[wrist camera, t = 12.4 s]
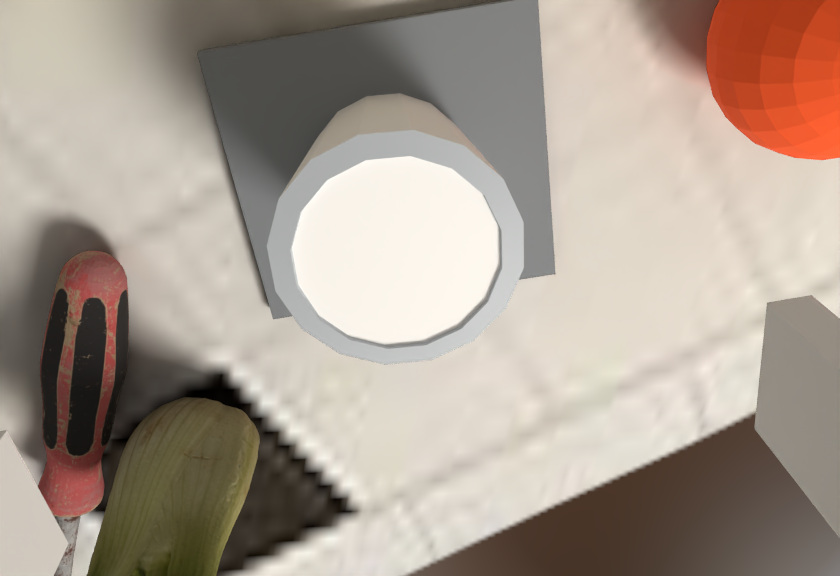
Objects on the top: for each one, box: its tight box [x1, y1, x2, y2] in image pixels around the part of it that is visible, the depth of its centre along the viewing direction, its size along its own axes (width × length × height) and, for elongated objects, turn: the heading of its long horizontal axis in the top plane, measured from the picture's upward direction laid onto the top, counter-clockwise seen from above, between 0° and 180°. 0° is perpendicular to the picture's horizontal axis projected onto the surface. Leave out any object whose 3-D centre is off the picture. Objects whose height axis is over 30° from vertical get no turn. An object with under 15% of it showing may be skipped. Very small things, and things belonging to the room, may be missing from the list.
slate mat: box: [197, 0, 555, 319], centre depth 25 cm, size 11×10×1 cm
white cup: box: [267, 93, 524, 365], centre depth 22 cm, size 7×7×7 cm
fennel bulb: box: [87, 397, 260, 576], centre depth 25 cm, size 6×5×12 cm
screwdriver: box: [38, 251, 129, 576], centre depth 30 cm, size 25×3×3 cm, turn 163°
